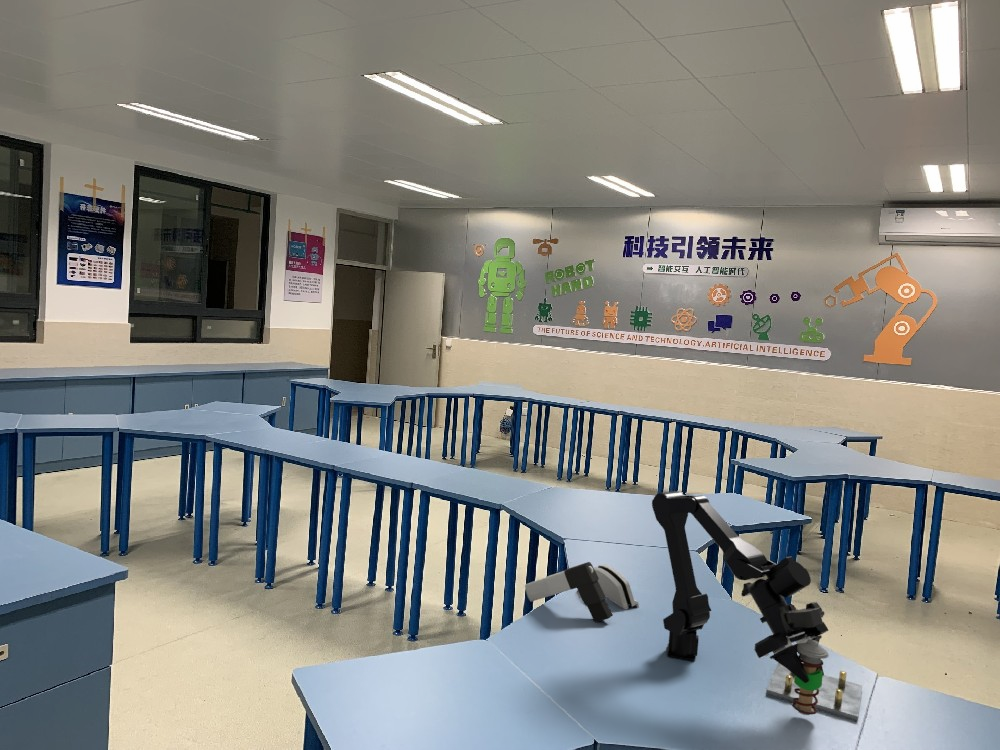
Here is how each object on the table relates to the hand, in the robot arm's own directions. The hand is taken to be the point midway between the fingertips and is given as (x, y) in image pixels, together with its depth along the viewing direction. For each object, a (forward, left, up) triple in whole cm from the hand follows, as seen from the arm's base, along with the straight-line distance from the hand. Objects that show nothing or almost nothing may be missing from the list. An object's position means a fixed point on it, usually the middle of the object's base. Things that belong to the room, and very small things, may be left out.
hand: (814, 679), depth 149 cm
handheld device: (-57, +37, -9) cm, 68 cm away
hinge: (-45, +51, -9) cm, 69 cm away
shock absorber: (-1, +1, -8) cm, 8 cm away
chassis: (+3, +14, -9) cm, 17 cm away
